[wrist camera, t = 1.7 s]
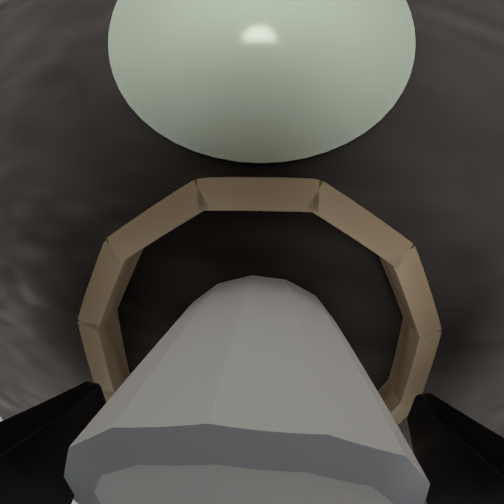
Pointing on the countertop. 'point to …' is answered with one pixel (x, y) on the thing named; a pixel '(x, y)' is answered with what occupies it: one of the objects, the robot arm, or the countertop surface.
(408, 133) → the countertop surface
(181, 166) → the countertop surface
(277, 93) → the pale green round disc
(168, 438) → the shot glass
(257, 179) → the collar
